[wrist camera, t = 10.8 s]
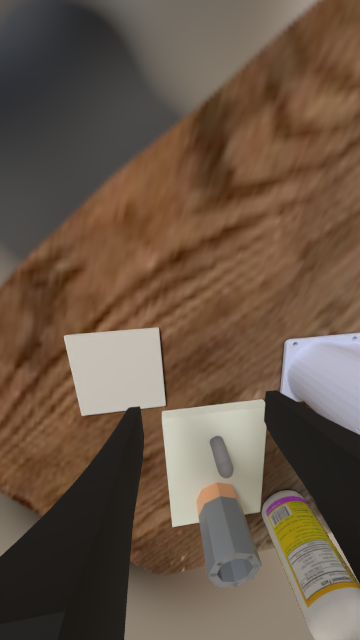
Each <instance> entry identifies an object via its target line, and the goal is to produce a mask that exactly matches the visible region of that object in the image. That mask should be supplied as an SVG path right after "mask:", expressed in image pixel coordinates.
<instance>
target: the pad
mask: <svg viewBox="0 0 360 640" xmlns="http://www.w3.org/2000/svg"><path fill="white" fill-rule="evenodd" d="M64 340H65V344H66V349H67V353H68V357H69V362H70V366H71V371H72V375H73V379H74V384H75V388H76V392H77V397H78V401H79V406H80V410H81V414H82V416H84V415H92V414H101V413H109V412H118V411H126V410H127V409H128V408H129V407H137V406H140V409H143V408H152V407H160V406H166V402H165V391H164V379H163V368H162V357H161V346H160V335H159V327H158V328H146V329H133V330H121V331H109V332H97V333H85V334H73V335H65V336H64Z"/></svg>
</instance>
